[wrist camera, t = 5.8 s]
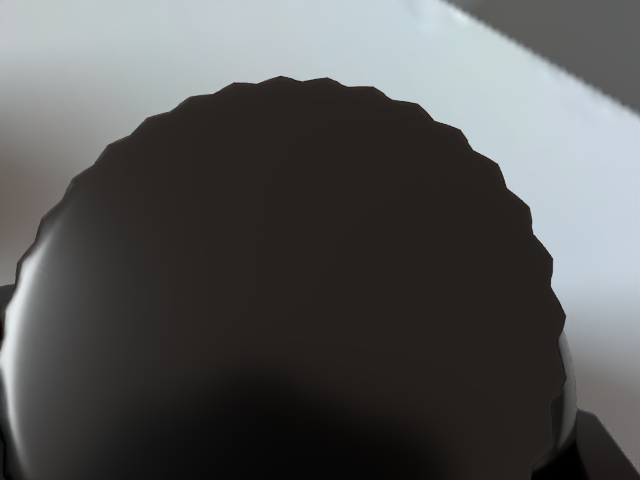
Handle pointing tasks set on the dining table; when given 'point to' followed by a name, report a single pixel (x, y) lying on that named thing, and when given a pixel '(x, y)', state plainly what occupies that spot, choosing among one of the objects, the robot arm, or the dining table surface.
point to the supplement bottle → (287, 304)
